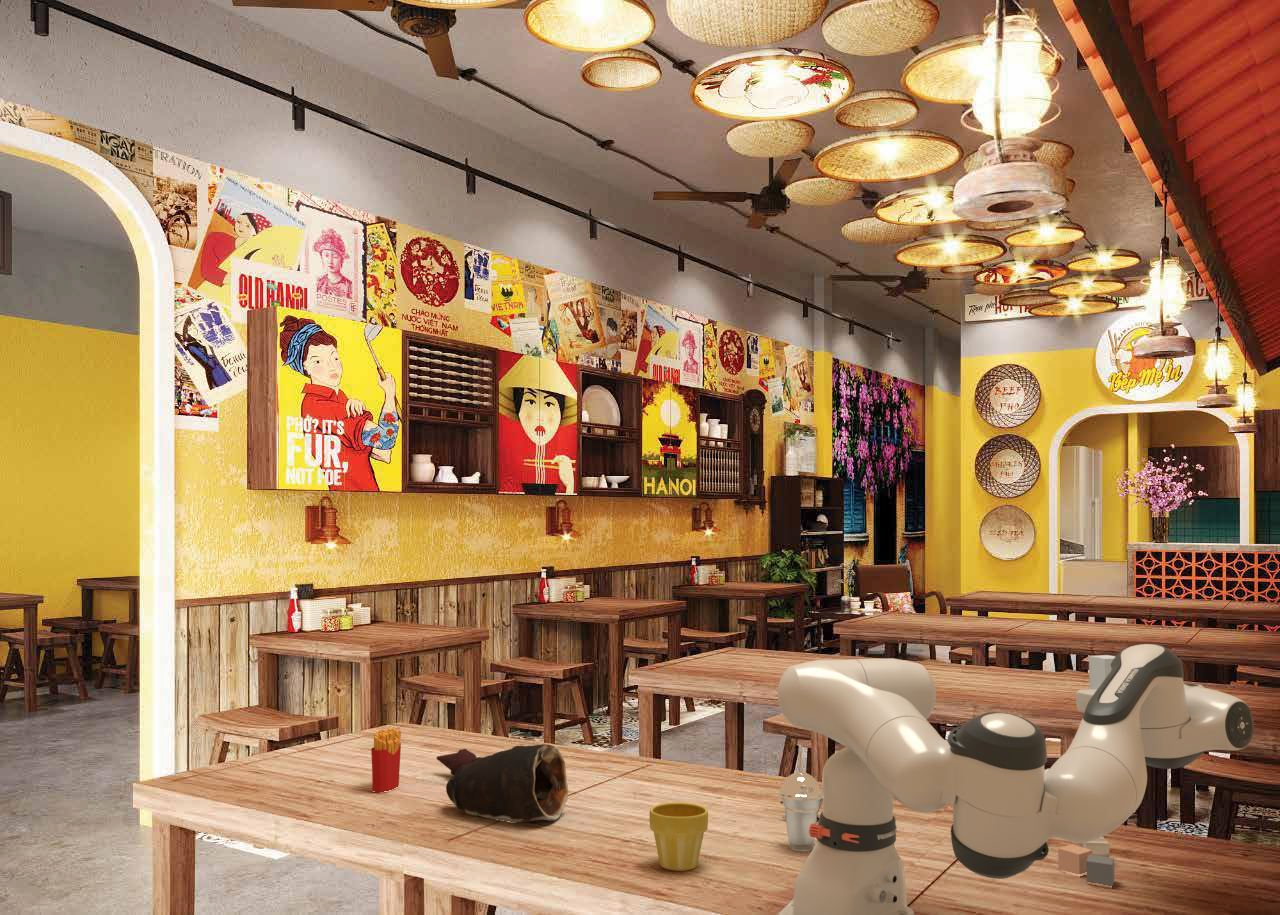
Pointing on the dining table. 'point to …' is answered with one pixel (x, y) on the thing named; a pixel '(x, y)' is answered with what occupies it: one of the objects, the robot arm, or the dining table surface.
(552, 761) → the dark brown tapered cylinder
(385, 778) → the french fries
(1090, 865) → the charcoal cube
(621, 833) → the dining table surface
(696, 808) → the plant pot
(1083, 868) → the terracotta cube
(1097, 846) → the cream cube
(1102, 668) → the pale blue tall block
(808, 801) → the cup with straw
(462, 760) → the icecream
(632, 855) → the dining table surface
